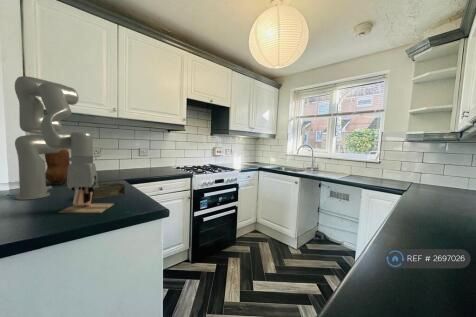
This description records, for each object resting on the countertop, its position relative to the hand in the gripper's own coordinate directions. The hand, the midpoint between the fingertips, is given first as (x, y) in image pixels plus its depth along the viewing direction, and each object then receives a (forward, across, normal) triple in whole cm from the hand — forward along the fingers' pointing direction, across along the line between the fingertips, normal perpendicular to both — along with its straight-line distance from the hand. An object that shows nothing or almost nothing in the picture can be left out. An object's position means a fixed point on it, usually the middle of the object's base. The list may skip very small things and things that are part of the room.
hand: (83, 201), depth 89 cm
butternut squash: (+2, -45, +50) cm, 68 cm away
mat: (+3, +2, +1) cm, 4 cm away
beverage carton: (+4, -3, +22) cm, 22 cm away
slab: (+1, 0, -1) cm, 2 cm away
